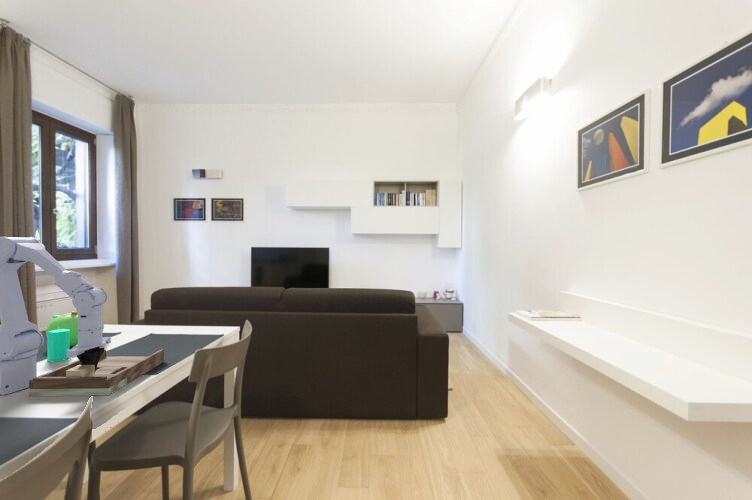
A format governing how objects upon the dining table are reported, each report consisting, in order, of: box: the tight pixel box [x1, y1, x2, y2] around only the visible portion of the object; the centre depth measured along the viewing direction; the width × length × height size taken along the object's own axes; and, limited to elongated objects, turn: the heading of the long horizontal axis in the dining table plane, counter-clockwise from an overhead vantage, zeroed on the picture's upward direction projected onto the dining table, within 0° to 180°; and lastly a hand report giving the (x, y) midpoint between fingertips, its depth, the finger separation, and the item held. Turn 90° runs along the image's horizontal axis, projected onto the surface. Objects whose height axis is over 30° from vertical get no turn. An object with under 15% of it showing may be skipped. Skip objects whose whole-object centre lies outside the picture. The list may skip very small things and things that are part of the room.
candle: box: [46, 329, 71, 363], centre depth 126 cm, size 6×6×12 cm
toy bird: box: [45, 310, 105, 348], centre depth 143 cm, size 18×17×15 cm
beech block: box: [66, 365, 95, 377], centre depth 100 cm, size 4×4×4 cm
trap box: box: [28, 348, 165, 397], centre depth 110 cm, size 28×21×5 cm
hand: (90, 373), depth 104 cm, fingers closed
